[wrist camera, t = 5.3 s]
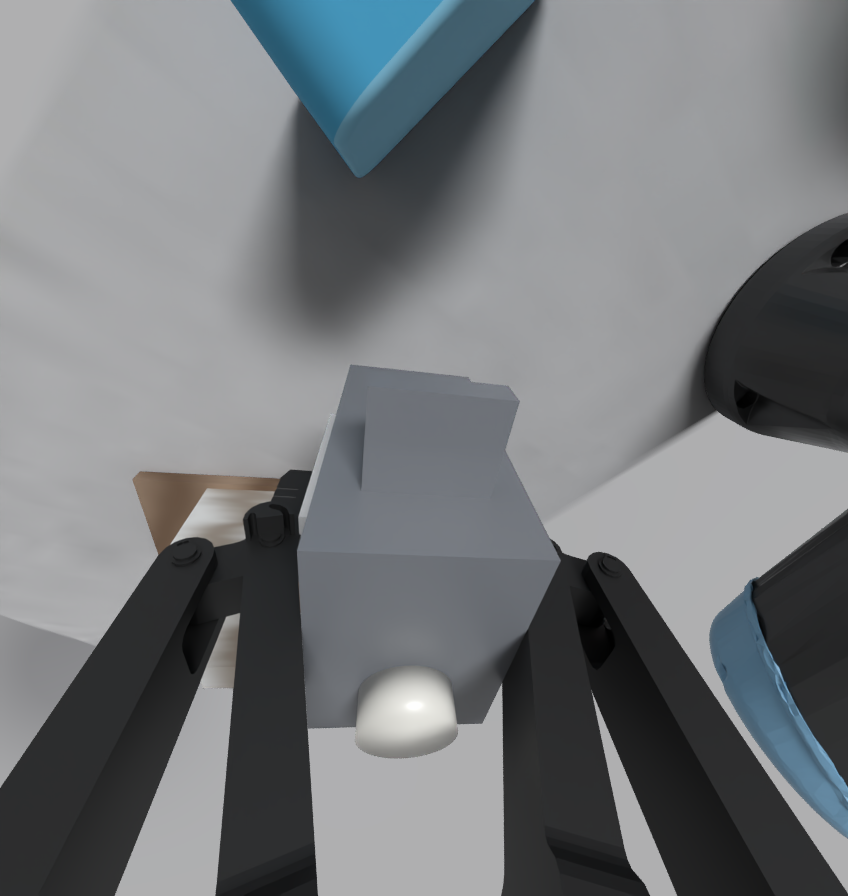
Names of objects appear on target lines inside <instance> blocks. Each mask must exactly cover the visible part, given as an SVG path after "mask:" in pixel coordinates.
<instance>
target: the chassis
mask: <svg viewBox="0 0 848 896" xmlns="http://www.w3.org/2000/svg"><path fill="white" fill-rule="evenodd" d="M132 480H133V483H134V486H135V488H136V491H137V494H138V497H139V500H140V503H141V506H142V508H143V511H144V514H145V517H146V520H147V523H148V526H149V529H150V531H151V534H152V537H153V540H154V543H155V546H156V549H157V551H158V554H160V553H161V552H162V551H163V550H164V549H165V548H166V547H167V546H169V545H171V544H172V543H174V542H176V541H179V540H182V539H185V538H191V537H200V538H206V539H207V540H209V541H211V542H212V544H213V546H214V547H217V546H222V545H227V544H232V543H236V542H240V541H242V540H244V539H246V537H245V531H244V525H243V518H244V515H245V513H246V512H247V511H248V510H249V509H250V508H251V507H254V506H256V505H258V504H260V503H264V502H269V501H271V499H272V497H273V495H274V492H275V490H276V489H277V485H278V483H279V481H280V479H274V478H255V477H235V476H216V475H197V474H177V473H158V472H139V473H138V474H137V475H136V476H135V477H134V478H133V479H132ZM298 584H299V583H298ZM299 600H300V593H299ZM300 612H301V609H300ZM239 619H240V613H238V614H235V615H231V616H227V617H226V619H225V621H224V624H223V626H222V629H221V631H220V634H219V636H218V639H217V641H216V644H215V646H214V649H213V651H212V654H211V656H210V659H209V661H208V664H207V666H206V669H205V671H204V674H203V676H202V679H201V681H200V682H201V684H202V687H203V689H210V688H234V677H235V666H236V654H237V642H238V631H239Z"/></svg>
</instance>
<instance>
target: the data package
mask: <svg viewBox="0 0 848 896" xmlns="http://www.w3.org/2000/svg"><path fill="white" fill-rule="evenodd" d="M231 1H232V3H233V4H234V6H235V7H236V9H237V10H238V11H239V13H240V14H241V16H242V17H243V19H244V20H245V22H246V23H247V24H248V26H249V27H250V29H251V30H252V32H253V33H254V34H255V36H256V37H257V39H258V40H259V42H260V43H261V45H262V46H263V47H264V49H265V50H266V52H267V53H268V55H269V56H270V57H271V59H272V60H273V62H274V63H275V65H276V66H277V68H278V69H279V70H280V72H281V73H282V75H283V76H284V78H285V79H286V80H287V82H288V83H289V85H290V86H291V88H292V89H293V90H294V92H295V93H296V95H297V96H298V97H299V99H300V100H301V101H302V103H303V104H304V106H305V107H306V108H307V110H308V111H309V113H310V114H311V115H312V117H313V118H314V120H315V121H316V122H317V124H318V125H319V126H320V128H321V129H322V131H323V132H324V133H325V135H326V136H327V138H328V139H329V140H330V142H331V143H332V145H333V146H334V147H335V149H336V150H337V151H338V153H339V154H340V156H341V157H342V158H343V160H344V161H345V163H346V164H347V165H348V167H349V168H350V170H351V171H352V172H353V174H354V175H355V176H356V177H358V178H361V177H363V176H365V175H366V174H368V173H369V172H370V171H371V170H372V169H373V168H374V167H375V166H376V165H377V164H379V163H380V162H381V161H382V159H383V158H384V157H385V156H386V155H387V154H388V153H389V152H390V151H391V150H392V149H393V148H394V147H395V146H396V145H397V144H398V143H399V142H400V141H401V140H402V139H403V138H404V137H405V136H406V134H407V133H408V132H409V131H410V130H411V129H412V128H413V127H414V126H415V125H416V124H417V123H418V122H419V121H420V120H421V119H422V118H423V117H424V116H425V115H426V114H427V113H428V112H429V111H430V109H431V108H432V107H433V106H434V105H435V104H436V103H437V102H438V101H439V100H440V99H441V98H442V97H443V96H444V95H445V94H446V93H447V92H448V91H449V90H450V89H451V88H452V87H453V86H454V84H455V83H456V82H457V81H458V80H459V79H460V78H461V77H462V76H463V75H464V74H465V73H466V72H467V71H468V70H469V69H470V68H471V67H472V66H473V65H474V64H475V63H476V62H477V61H478V59H479V58H480V57H481V56H482V55H483V54H484V53H485V52H486V51H487V50H488V49H489V48H490V47H491V46H492V45H493V44H494V43H495V42H496V41H497V40H498V39H499V38H500V37H501V36H502V34H503V33H504V32H505V31H506V30H507V29H508V28H509V27H510V26H511V25H512V24H513V23H514V22H515V21H516V20H517V19H518V18H519V17H520V16H521V15H522V14H523V13H524V12H525V11H526V9H527V8H528V7H529V6H530V5H531V4H532V3H533V2H534V1H535V0H231Z"/></svg>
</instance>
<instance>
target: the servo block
mask: <svg viewBox="0 0 848 896" xmlns="http://www.w3.org/2000/svg"><path fill="white" fill-rule="evenodd" d="M519 402H520V401H519V400H518V398H517V397H516V396H515V394H514V393H513V391H512V390H511V389H510V387H509V386H504V385H494V384H485V383H475V382H471V381H470V379H469V377H461V376H451V375H442V374H433V373H424V372H414V371H405V370H396V369H386V368H377V367H368V366H358V365H350V369H349V372H348V375H347V379H346V382H345V386H344V389H343V393H342V396H341V400H340V403H339V407H338V410H337V414H336V417H335V421H334V424H333V428H332V431H331V435H330V438H329V441H328V445H327V448H326V452H325V455H324V459H323V462H322V466H321V469H320V473H319V476H318V480H317V483H316V487H315V490H314V494H313V497H312V500H311V504H310V507H309V511H308V514H307V518H306V521H305V525H304V528H303V532H302V535H301V539H300V542H299V546H298V549H297V560H298V576H299V593H300V609H301V626H302V643H303V659H304V676H305V692H306V709H307V725H308V728H339V727H356V736H355V742H356V745H357V746H358V748H360V749H361V750H362V751H364V752H366V753H368V754H371V755H374V756H378V757H384V758H411V757H418V756H422V755H427V754H430V753H433V752H436V751H438V750H441V749H443V748H445V747H446V746H448V745H449V744H451V743H452V742H453V741H454V740H455V739H456V737H457V734H458V728H457V724H479V723H480V724H481V723H483V721H484V719H485V717H486V715H487V713H488V710H489V708H490V706H491V704H492V702H493V700H494V698H495V696H496V694H497V692H498V690H499V688H500V686H501V684H502V681H503V679H504V677H505V675H506V673H507V671H508V669H509V667H510V665H511V663H512V661H513V659H514V657H515V655H516V652H517V650H518V648H519V646H520V644H521V642H522V640H523V638H524V636H525V634H526V632H527V630H528V628H529V626H530V623H531V621H532V619H533V617H534V615H535V613H536V611H537V609H538V607H539V605H540V603H541V601H542V599H543V597H544V594H545V592H546V590H547V588H548V586H549V584H550V582H551V580H552V578H553V576H554V574H555V572H556V570H557V568H558V565H559V563H560V561H561V560H560V558H559V556H558V554H557V552H556V550H555V548H554V546H553V544H552V542H551V540H550V538H549V536H548V534H547V532H546V530H545V528H544V526H543V524H542V522H541V520H540V518H539V516H538V514H537V512H536V510H535V508H534V506H533V504H532V502H531V500H530V498H529V496H528V494H527V492H526V491H525V489H524V487H523V485H522V483H521V481H520V479H519V477H518V475H517V473H516V471H515V469H514V467H513V465H512V463H511V461H510V459H509V457H508V455H507V453H506V451H505V448H506V445H507V442H508V438H509V435H510V432H511V428H512V425H513V422H514V418H515V415H516V412H517V408H518V405H519Z"/></svg>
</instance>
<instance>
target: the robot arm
mask: <svg viewBox="0 0 848 896" xmlns="http://www.w3.org/2000/svg"><path fill="white" fill-rule="evenodd" d="M705 387H706V392H707V395H708V397H709V400H710V402H711V403H712V405H713V406H714V407H715V409H716V410H717V411H718V412H719V413H721V414H722V415H723V416H725V417H727V418H728V419H730V420H732V421H734V422H735V423H737V424H739V425H741V426H742V427H744V428H746V429H748V430H750V431H753V432H756V433H758V434H762V435H767V436H771V437H776V438H781V439H785V440H790V441H795V442H800V443H805V444H810V445H814V446H819V447H824V448H829V449H833V450H839V451H843V452H847V453H848V213H847V214H843V215H841V216H838V217H835V218H833V219H831V220H829V221H826V222H824V223H822V224H820V225H818V226H816V227H814V228H813V229H811V230H809V231H808V232H806V233H804V234H803V235H801V236H800V237H798V238H797V239H795V240H794V241H792V242H791V243H790V244H788V245H787V246H785V247H784V248H783V249H782V250H781V251H779V252H778V253H777V254H776V255H774V256H773V257H772V258H771V259H770V260H769V261H768V262H767V263H766V264H765V265H764V266H762V267H761V268H760V269H759V270H758V271H757V273H756V274H755V275H754V276H753V277H752V278H751V279H750V280H749V281H748V282H747V284H746V285H745V286H744V287H743V288H742V290H741V291H740V292H739V293H738V295H737V296H736V297H735V299H734V300H733V302H732V303H731V305H730V306H729V308H728V309H727V311H726V312H725V314H724V316H723V318H722V319H721V321H720V323H719V325H718V327H717V329H716V331H715V334H714V336H713V338H712V341H711V344H710V347H709V350H708V354H707V358H706V364H705ZM335 417H336V414H331V415H330V418H329V421H328V424H327V427H326V430H325V434H324V437H323V440H322V443H321V446H320V450H319V453H318V456H317V459H316V462H315V465H314V469H313V471H302V470H289V471H288V472H287V473H286V474H285V475H283V476H282V477H281V479H280V481H279V483H278V485H277V489H276V490H275V492H274V495H273V497H272V499H271V501H269V502H264V503H260V504H258V505H256V506H254V507H251V508H250V509H249V510H248V511H247V512H246V513H245V515H244V518H243V525H244V531H245V537H246V539H244V540H242V541H240V542H236V543H232V544H227V545H222V546H217V547H214V546H213V544H212V542H211V541H209V540H207V539H206V538H200V537H191V538H185V539H182V540H179V541H176V542H174V543H172V544H171V545H169V546H167V547H166V548H165V549H164V550H163V551H162V552H161V553H160V554H159V555H158V557H157V558H156V560H155V561H154V563H153V564H152V566H151V567H150V568H149V570H148V571H147V573H146V574H145V576H144V577H143V579H142V580H141V582H140V583H139V585H138V586H137V588H136V589H135V591H134V592H133V593H132V595H131V596H130V598H129V599H128V601H127V602H126V604H125V605H124V607H123V608H122V610H121V611H120V613H119V614H118V616H117V617H116V618H115V620H114V621H113V623H112V624H111V626H110V627H109V629H108V630H107V632H106V633H105V635H104V636H103V638H102V639H101V641H100V642H99V644H98V645H97V646H96V648H95V649H94V651H93V652H92V654H91V655H90V657H89V658H88V660H87V661H86V663H85V664H84V666H83V667H82V669H81V670H80V671H79V673H78V674H77V676H76V677H75V679H74V680H73V682H72V683H71V685H70V686H69V688H68V689H67V691H66V692H65V694H64V695H63V696H62V698H61V700H60V701H59V703H58V704H57V705H56V707H55V708H54V710H53V711H52V713H51V714H50V716H49V717H48V719H47V720H46V722H45V723H44V724H43V726H42V727H41V729H40V730H39V732H38V733H37V735H36V736H35V738H34V739H33V741H32V742H31V744H30V745H29V747H28V748H27V749H26V751H25V753H24V754H23V755H22V757H21V759H20V760H19V761H18V763H17V764H16V766H15V767H14V769H13V770H12V772H11V773H10V774H9V776H8V777H7V779H6V781H5V782H4V783H3V785H2V786H1V788H0V896H115V893H116V891H117V888H118V885H119V883H120V881H121V878H122V876H123V873H124V871H125V868H126V866H127V863H128V861H129V858H130V856H131V853H132V851H133V848H134V846H135V843H136V841H137V838H138V836H139V833H140V830H141V828H142V825H143V823H144V821H145V818H146V816H147V813H148V811H149V808H150V806H151V803H152V801H153V798H154V796H155V793H156V790H157V788H158V786H159V783H160V781H161V778H162V776H163V773H164V771H165V768H166V766H167V763H168V761H169V758H170V756H171V753H172V751H173V748H174V746H175V744H176V741H177V739H178V736H179V733H180V731H181V728H182V726H183V724H184V721H185V719H186V716H187V714H188V711H189V708H190V706H191V704H192V701H193V699H194V696H195V694H196V691H197V689H198V686H199V684H200V681H201V679H202V676H203V674H204V671H205V669H206V666H207V664H208V661H209V659H210V656H211V654H212V651H213V649H214V646H215V644H216V641H217V639H218V636H219V634H220V631H221V629H222V626H223V624H224V621H225V619H226V617H227V616H231V615H235V614H238V613H240V619H239V631H238V642H237V654H236V666H235V677H234V689H233V701H232V713H231V726H230V736H229V748H228V759H227V771H226V782H225V795H224V806H223V817H222V829H221V841H220V853H219V864H218V877H217V886H216V896H318V891H317V874H316V859H315V844H314V843H315V842H314V827H313V812H312V794H311V778H310V762H309V747H308V746H309V745H308V730H307V713H306V697H305V681H304V665H303V648H302V632H301V616H300V600H299V584H298V583H299V576H298V560H297V549H298V546H299V542H300V539H301V535H302V532H303V528H304V525H305V521H306V518H307V514H308V511H309V507H310V504H311V500H312V497H313V494H314V490H315V487H316V483H317V480H318V476H319V473H320V469H321V466H322V462H323V459H324V455H325V452H326V448H327V445H328V441H329V438H330V435H331V431H332V428H333V424H334V421H335ZM550 540H551V539H550ZM551 542H552V544H553V546H554V548H555V550H556V552H557V554H558V556H559V558H560V560H561V561H560V563H559V565H558V568H557V570H556V572H555V574H554V576H553V578H552V580H551V582H550V584H549V586H548V588H547V590H546V592H545V594H544V597H543V599H542V601H541V603H540V605H539V607H538V609H537V611H536V613H535V615H534V617H533V619H532V621H531V623H530V626H529V628H528V630H527V632H526V634H525V636H524V638H523V640H522V642H521V644H520V646H519V648H518V650H517V652H516V655H515V657H514V659H513V661H512V663H511V665H510V667H509V669H508V671H507V673H506V675H505V677H504V679H503V681H502V689H503V690H502V696H503V775H504V777H503V782H504V783H503V784H504V884H503V889H502V895H501V896H650V895H649V893H648V890H647V888H646V886H645V884H644V883H643V882H642V880H641V879H640V878H639V877H638V876H637V875H636V874H635V872H634V871H633V870H632V869H631V866H630V864H629V862H628V860H627V856H626V852H625V849H624V845H623V839H622V835H621V830H620V825H619V820H618V816H617V811H616V806H615V802H614V797H613V792H612V787H611V782H610V777H609V773H608V768H607V763H606V758H605V754H604V749H603V744H602V740H601V734H600V730H599V725H598V720H597V716H596V711H595V706H594V701H593V696H592V693H593V695H594V697H595V700H596V702H597V704H598V707H599V709H600V712H601V714H602V716H603V719H604V721H605V724H606V726H607V728H608V731H609V733H610V736H611V738H612V740H613V743H614V745H615V747H616V750H617V752H618V755H619V757H620V760H621V762H622V764H623V767H624V769H625V771H626V774H627V776H628V779H629V781H630V784H631V786H632V788H633V791H634V793H635V795H636V798H637V800H638V803H639V805H640V807H641V810H642V812H643V815H644V817H645V819H646V822H647V824H648V826H649V829H650V831H651V833H652V836H653V839H654V841H655V843H656V846H657V848H658V850H659V853H660V855H661V858H662V860H663V862H664V865H665V867H666V869H667V872H668V874H669V877H670V879H671V882H672V884H673V886H674V888H675V891H676V894H677V896H848V893H847V892H846V890H845V889H844V887H843V886H842V884H841V883H840V881H839V880H838V878H837V877H836V875H835V874H834V872H833V871H832V869H831V868H830V866H829V865H828V864H827V862H826V860H825V859H824V858H823V856H822V855H821V853H820V852H819V850H818V849H817V847H816V846H815V844H814V843H813V841H812V840H811V838H810V837H809V835H808V834H807V832H806V831H805V829H804V828H803V826H802V825H801V824H800V822H799V821H798V819H797V817H796V816H795V815H794V813H793V812H792V810H791V809H790V807H789V806H788V804H787V803H786V801H785V800H784V798H783V797H782V795H781V794H780V792H779V791H778V789H777V788H776V786H775V785H774V783H773V782H772V780H771V779H770V777H769V776H768V774H767V773H766V772H765V770H764V769H763V767H762V766H761V764H760V763H759V761H758V760H757V758H756V757H755V755H754V754H753V752H752V751H751V749H750V748H749V746H748V745H747V743H746V742H745V740H744V739H743V737H742V736H741V734H740V733H739V731H738V730H737V728H736V727H735V725H734V724H733V722H732V721H731V720H730V718H729V717H728V715H727V714H726V712H725V711H724V709H723V708H722V707H721V705H720V703H719V702H718V700H717V699H716V697H715V696H714V695H713V693H712V691H711V690H710V689H709V687H708V685H707V684H706V682H705V681H704V679H703V678H702V677H701V675H700V674H699V672H698V671H697V669H696V668H695V666H694V665H693V663H692V662H691V660H690V659H689V657H688V656H687V654H686V653H685V651H684V650H683V648H682V647H681V645H680V644H679V642H678V641H677V640H676V638H675V637H674V635H673V633H672V632H671V631H670V629H669V628H668V626H667V625H666V623H665V622H664V620H663V619H662V617H661V616H660V614H659V613H658V611H657V610H656V608H655V607H654V605H653V604H652V602H651V601H650V599H649V598H648V596H647V595H646V593H645V592H644V591H643V589H642V588H641V586H640V585H639V583H638V582H637V580H636V579H635V577H634V576H633V574H632V573H631V571H630V570H629V568H628V567H627V566H626V565H625V564H624V563H623V562H622V561H620V560H619V559H618V558H616V557H614V556H612V555H610V554H607V553H602V552H596V553H592V554H591V555H590V556H589V557H588V559H587V561H586V560H583V559H579V558H576V557H572V556H569V555H566V554H564V553H562V551H561V549H560V547H559V546H558V545H557V544H556V543H555V542H554V541H553V540H551ZM709 641H710V649H711V654H712V658H713V662H714V665H715V668H716V671H717V673H718V675H719V676H720V678H721V681H722V682H723V685H724V688H725V691H726V694H727V696H728V697H729V699H730V701H731V703H732V704H733V706H734V708H735V710H736V712H737V713H738V715H739V717H740V718H741V720H742V721H743V723H744V724H745V726H746V728H747V729H748V731H749V732H750V733H751V735H752V737H753V738H754V740H755V741H756V742H757V744H758V745H759V746H760V748H761V749H762V750H763V752H764V753H765V754H766V756H767V757H768V758H769V760H770V761H771V762H772V763H773V765H774V766H775V767H776V768H777V770H778V771H779V772H780V773H781V774H782V776H783V777H784V778H785V779H786V780H787V782H788V783H789V784H790V785H791V786H792V787H793V788H794V790H795V791H796V792H797V793H798V794H799V795H800V796H801V797H802V798H803V799H804V800H805V801H806V802H807V803H808V804H809V805H810V806H811V807H812V808H813V809H814V810H815V811H816V812H817V813H818V814H819V815H820V816H821V817H822V818H823V819H824V820H825V821H826V822H828V823H829V824H830V825H831V826H832V827H833V828H835V829H836V830H837V831H838V832H840V833H841V834H842V835H843V836H845V837H846V838H847V839H848V509H847V510H846V511H844V512H843V513H842V514H841V515H839V516H838V517H837V518H836V519H834V520H833V521H832V522H830V523H829V524H828V525H827V526H825V527H824V528H823V529H821V530H820V531H819V532H818V533H816V534H815V535H814V536H812V537H811V538H810V539H809V540H807V541H806V542H805V543H803V544H802V545H801V546H800V547H798V548H797V549H796V550H794V551H793V552H792V553H791V554H789V555H788V556H787V557H785V558H784V559H783V560H782V561H780V562H779V563H778V564H776V565H775V566H774V567H773V568H771V569H770V570H769V571H767V572H766V573H765V574H764V575H762V576H761V577H760V578H758V577H756V578H754V579H752V580H750V581H749V582H748V584H747V585H746V586H745V588H744V591H743V592H742V593H741V594H740V595H739V596H738V597H736V598H735V599H734V600H733V601H732V602H731V603H730V604H728V605H727V606H726V607H725V608H724V609H723V610H722V611H721V612H719V613H718V615H717V616H716V617H715V619H714V620H713V622H712V625H711V629H710V640H709ZM591 690H592V691H591Z"/></svg>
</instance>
